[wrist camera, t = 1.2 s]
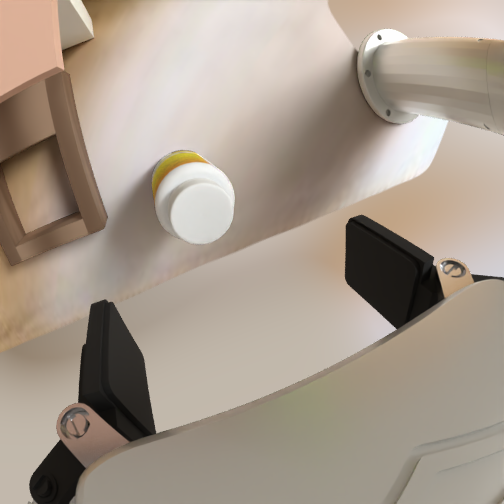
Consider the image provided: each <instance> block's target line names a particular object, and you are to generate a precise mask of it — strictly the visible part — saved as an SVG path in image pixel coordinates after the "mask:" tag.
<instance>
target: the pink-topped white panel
mask: <svg viewBox="0 0 504 504" xmlns="http://www.w3.org/2000/svg"><path fill="white" fill-rule="evenodd" d="M92 38H94V34H93V26H92V20H91V18H90V16H89V14H88V12H87V10H86V8H85V6H84V5H83V3H82V1H81V0H0V103H2V102H3V101H5V100H7V99H8V98H10V97H12V96H14V95H15V94H17V93H19V92H21V91H23V90H24V89H26V88H28V87H30V86H32V85H34V84H36V83H38V82H40V81H42V80H44V79H46V78H48V77H51V76H53V75H55V74H57V73H60V72H62V71H64V64H63V57H62V50H64V49H66V48H69V47H71V46H73V45H76V44H79V43H81V42H84V41H87V40H89V39H92Z"/></svg>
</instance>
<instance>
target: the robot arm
mask: <svg viewBox="0 0 504 504" xmlns="http://www.w3.org/2000/svg"><path fill="white" fill-rule="evenodd" d="M357 72H358V79H359V83H360V87H361V89H362V92H363V95H364V97H365V99H366V100H367V102H368V104H369V105H370V107H371V108H372V109H373V111H374V112H375V113H376V114H378V115H379V116H380V117H381V118H383V119H384V120H386V121H389V122H392V123H398V124H406V123H409V122H411V121H413V120H414V119H416V118H417V117H418V115H423V116H428V117H434V118H439V119H443V120H448V121H453V122H457V123H461V124H465V125H470V126H473V127H477V128H481V129H484V130H488V131H491V132H494V133H498V134H501V135H504V40H498V39H488V38H472V37H424V38H407V37H406V36H405V35H404V34H402V33H400V32H398V31H396V30H393V29H380V30H376V31H374V32H372V33H370V34H369V35H367V37H366V38H365V39H364V41H363V42H362V44H361V46H360V49H359V52H358V57H357ZM345 259H346V261H345V279H346V282H347V284H348V285H349V286H350V287H352V289H354V290H355V291H356V292H357V293H358V294H359V295H360V296H361V297H362V298H364V299H365V300H366V301H367V302H368V303H369V304H370V305H371V306H372V307H373V308H375V309H376V310H377V311H378V312H379V313H380V314H381V315H382V316H383V317H384V318H385V319H386V320H387V321H389V322H390V323H391V324H392V325H393V326H394V327H395V328H396V329H397V330H395V331H394V332H392V333H390V334H389V335H387V336H385V337H384V338H382V339H380V340H379V341H377V342H375V343H373V344H372V345H370V346H368V347H366V348H364V349H363V350H361V351H359V352H357V353H355V354H354V355H352V356H350V357H348V358H346V359H344V360H342V361H340V362H338V363H336V364H335V365H333V366H331V367H329V368H327V369H325V370H323V371H321V372H319V373H317V374H314V375H312V376H310V377H308V378H306V379H304V380H302V381H299V382H297V383H295V384H293V385H290V386H288V387H286V388H284V389H281V390H279V391H277V392H274V393H272V394H270V395H267V396H265V397H263V398H260V399H257V400H255V401H252V402H250V403H247V404H245V405H242V406H239V407H236V408H234V409H231V410H228V411H225V412H223V413H219V414H217V415H214V416H211V417H208V418H205V419H202V420H200V421H196V422H193V423H190V424H187V425H183V426H180V427H177V428H174V429H170V430H166V431H163V432H160V433H157V434H156V430H155V425H154V419H153V414H152V408H151V403H150V397H149V391H148V384H147V377H146V370H145V363H144V358H143V355H142V353H141V351H140V349H139V347H138V346H137V344H136V342H135V341H134V339H133V337H132V336H131V334H130V333H129V330H128V329H127V327H126V325H125V324H124V322H123V320H122V318H121V316H120V314H119V313H118V311H117V309H116V307H115V305H114V303H113V302H109V303H108V301H107V300H102V301H99V302H96V303H93V304H91V308H90V315H89V323H88V330H87V339H86V344H84V345H83V347H82V354H81V365H80V380H79V397H78V403H75V404H72V405H70V406H68V407H66V408H65V409H64V410H63V411H62V413H61V414H60V415H59V417H58V420H57V426H56V429H57V433H58V435H59V437H60V440H59V442H58V443H57V444H56V445H55V447H54V448H53V449H52V450H51V452H50V453H49V454H48V455H47V457H46V458H45V459H44V460H43V462H42V463H41V464H40V465H39V467H38V468H37V469H36V471H35V472H34V473H33V475H32V477H31V479H30V484H29V486H30V493H31V496H32V498H33V502H32V503H31V502H28V504H504V278H503V277H493V276H483V275H473V274H471V273H470V271H469V269H468V267H467V266H466V265H465V264H464V263H463V262H461V261H459V260H456V259H452V258H444V259H441V260H440V261H438V262H437V264H436V267H435V266H434V265H433V260H434V257H433V256H431V255H429V254H428V253H427V252H425V251H424V250H422V249H420V248H419V247H417V246H415V245H414V244H412V243H411V242H409V241H407V240H406V239H404V238H402V237H400V236H399V235H397V234H395V233H394V232H392V231H390V230H389V229H387V228H385V227H384V226H382V225H380V224H378V223H377V222H375V221H373V220H371V219H369V218H368V217H366V216H364V215H359V216H356V217H353V218H350V219H349V221H348V223H347V224H346V258H345Z"/></svg>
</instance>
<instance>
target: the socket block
mask: <svg viewBox="0 0 504 504" xmlns="http://www.w3.org/2000/svg"><path fill="white" fill-rule="evenodd" d="M55 135H56V137H57V141H58V145H59V148H60V152H61V155H62V159H63V162H64V166H65V169H66V172H67V175H68V179H69V182H70V185H71V188H72V191H73V194H74V196H75V199H76V202H77V205H78V208H79V210H80V211H79V212H76V213H74V214H71V215H69V216H66V217H64V218H62V219H59V220H57V221H54V222H52V223H50V224H47V225H45V226H43V227H40V228H38V229H36V230H34V231H32V232H29V233H27V234H25V231H24V229H23V227H22V224H21V222H20V219H19V217H18V214H17V212H16V209H15V206H14V204H13V201H12V198H11V195H10V193H9V190H8V187H7V184H6V181H5V177H4V174H3V171H2V168H1V164H0V243H1V246H2V248H3V250H4V252H5V254H6V256H7V258H8V260H9V262H10V264H11V266H13V265H15V264H18V263H20V262H22V261H24V260H27V259H29V258H31V257H34V256H36V255H39V254H41V253H43V252H46V251H48V250H51V249H53V248H56V247H58V246H61V245H63V244H66V243H68V242H71V241H73V240H76V239H79V238H81V237H84V236H87V235H89V234H92V233H95V232H97V231H100V230H103V229H104V228H105V225H106V221H107V218H108V216H107V214H106V211H105V208H104V205H103V202H102V199H101V196H100V193H99V190H98V187H97V184H96V181H95V178H94V174H93V171H92V168H91V164H90V161H89V157H88V154H87V150H86V147H85V143H84V139H83V135H82V131H81V127H80V123H79V119H78V114H77V110H76V105H75V101H74V96H73V91H72V85H71V80H70V74H68V73H66V72H64V71H62V72H60V73H57V74H55V75H53V76H51V77H48V78H46V79H44V80H42V81H40V82H38V83H36V84H34V85H32V86H30V87H28V88H26V89H24V90H23V91H21V92H19V93H17V94H15V95H14V96H12V97H10V98H8V99H7V100H5V101H3V102H2V103H0V163H2V162H4V161H6V160H7V159H9V158H11V157H13V156H15V155H16V154H18V153H20V152H22V151H24V150H26V149H28V148H30V147H32V146H34V145H36V144H38V143H40V142H42V141H44V140H46V139H48V138H50V137H53V136H55Z"/></svg>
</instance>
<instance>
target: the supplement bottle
mask: <svg viewBox="0 0 504 504" xmlns="http://www.w3.org/2000/svg"><path fill="white" fill-rule="evenodd" d="M152 190H153V197H154V205H155V211H156V214H157V217H158V220H159V222H160V223H161V225H162V226H163V228H164V229H165V230H166V231H167V232H168V233H170V234H171V235H173V236H174V237H177V238H179V239H182V240H184V241H186V242H188V243H191V244H197V245H201V244H208V243H211V242H213V241H215V240H217V239H219V238H220V237H221V236H223V235H224V233H225V232H226V231H227V230H228V228H229V227H230V225H231V222H232V219H233V209H234V204H235V195H234V190H233V187H232V184H231V182H230V180H229V179H228V177H227V176H226V175H225V174H224V173H223V172H222V171H221V170H220V169H218V168H217V167H216V166H214V165H213V164H212V163H210V162H209V161H208V160H206V159H205V158H204V157H202V156H201V155H199V154H197V153H195V152H193V151H189V150H178V151H174V152H171V153H169V154H167V155H166V156H164V157H163V158H162V159H161V160H160V161H159V162H158V164H157V165H156V167H155V169H154V171H153V175H152Z"/></svg>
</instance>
